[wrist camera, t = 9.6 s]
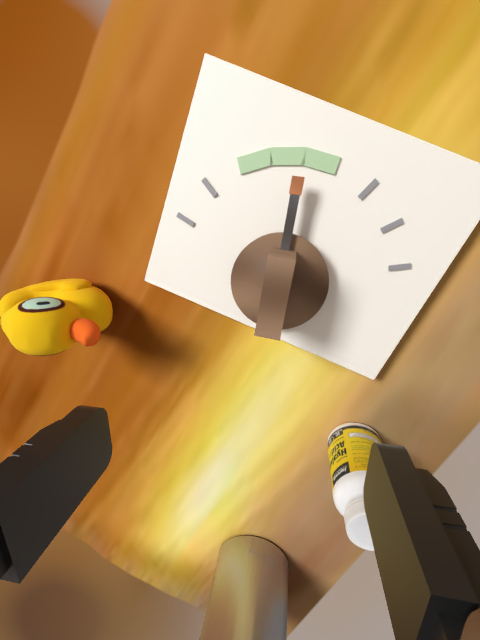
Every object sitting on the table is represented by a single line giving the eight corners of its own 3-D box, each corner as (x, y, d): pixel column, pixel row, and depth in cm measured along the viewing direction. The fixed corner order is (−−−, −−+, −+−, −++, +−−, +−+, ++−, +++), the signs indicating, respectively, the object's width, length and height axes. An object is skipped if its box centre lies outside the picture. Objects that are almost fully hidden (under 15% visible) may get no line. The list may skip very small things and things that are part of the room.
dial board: (370, 372, 29) (374, 381, 27) (151, 277, 30) (143, 280, 28) (496, 177, 22) (511, 174, 21) (210, 62, 23) (204, 51, 22)
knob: (315, 332, 27) (320, 364, 21) (228, 315, 28) (210, 342, 22) (351, 186, 23) (370, 176, 17) (247, 171, 24) (230, 158, 18)
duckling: (144, 283, 30) (77, 313, 21) (145, 332, 32) (82, 381, 23) (42, 267, 32) (-64, 289, 22) (48, 315, 34) (-48, 354, 24)
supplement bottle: (333, 414, 31) (348, 497, 22) (388, 427, 31) (426, 518, 22) (320, 455, 33) (329, 546, 24) (371, 468, 33) (400, 567, 23)
